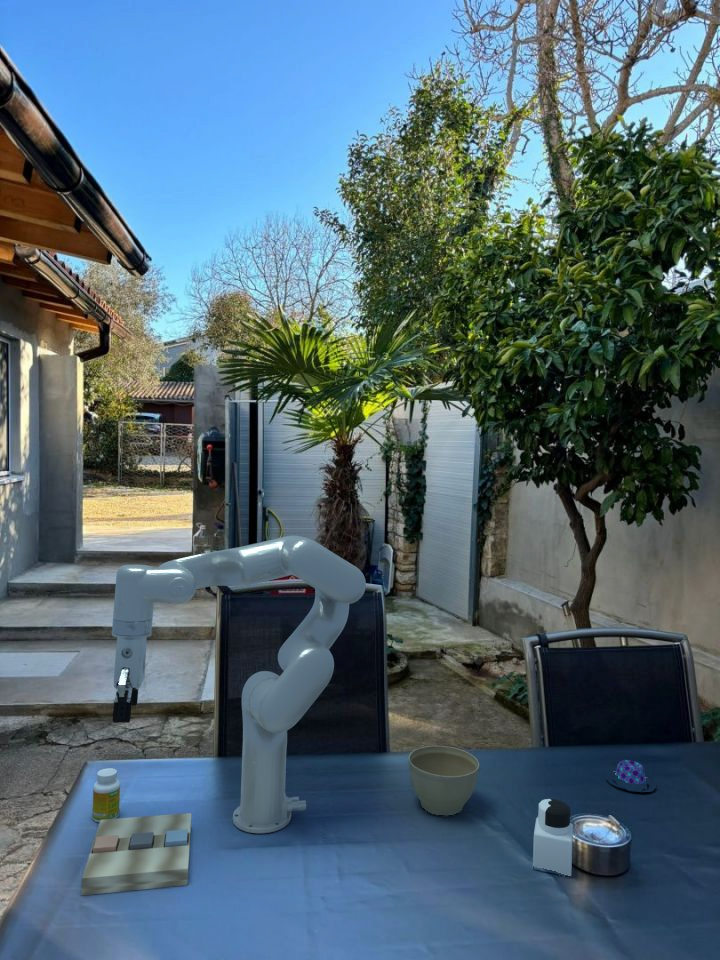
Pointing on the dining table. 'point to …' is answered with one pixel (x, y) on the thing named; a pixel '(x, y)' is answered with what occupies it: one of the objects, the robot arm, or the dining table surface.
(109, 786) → the supplement bottle
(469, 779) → the planter bowl
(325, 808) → the dining table surface
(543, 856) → the medicine bottle
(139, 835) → the key charcoal
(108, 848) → the key pink
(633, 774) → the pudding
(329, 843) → the dining table surface
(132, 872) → the keypad
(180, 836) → the key blue
